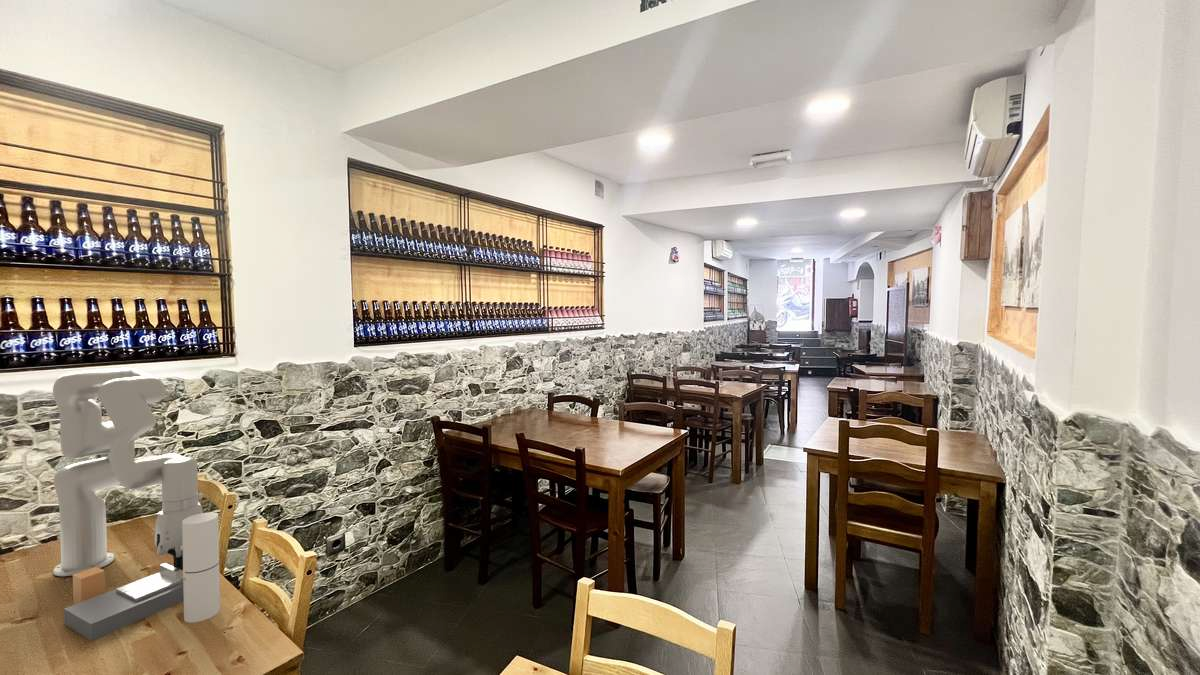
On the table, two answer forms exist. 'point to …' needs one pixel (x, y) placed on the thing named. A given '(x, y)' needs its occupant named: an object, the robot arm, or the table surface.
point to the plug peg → (88, 584)
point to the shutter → (152, 583)
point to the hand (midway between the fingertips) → (181, 568)
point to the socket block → (116, 611)
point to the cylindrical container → (201, 566)
